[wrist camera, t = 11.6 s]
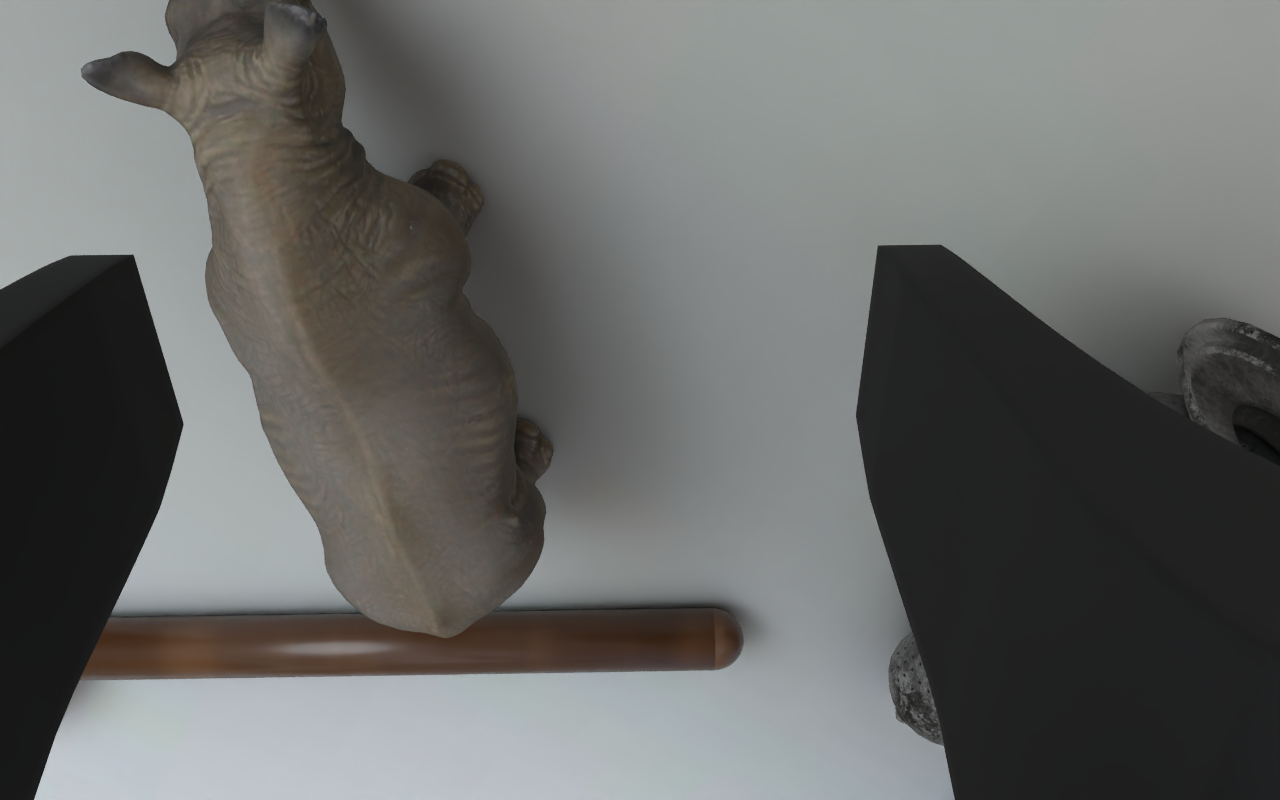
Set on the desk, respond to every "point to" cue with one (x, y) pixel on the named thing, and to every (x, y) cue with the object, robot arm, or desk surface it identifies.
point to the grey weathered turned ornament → (1212, 397)
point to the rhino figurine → (351, 318)
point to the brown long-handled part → (414, 645)
